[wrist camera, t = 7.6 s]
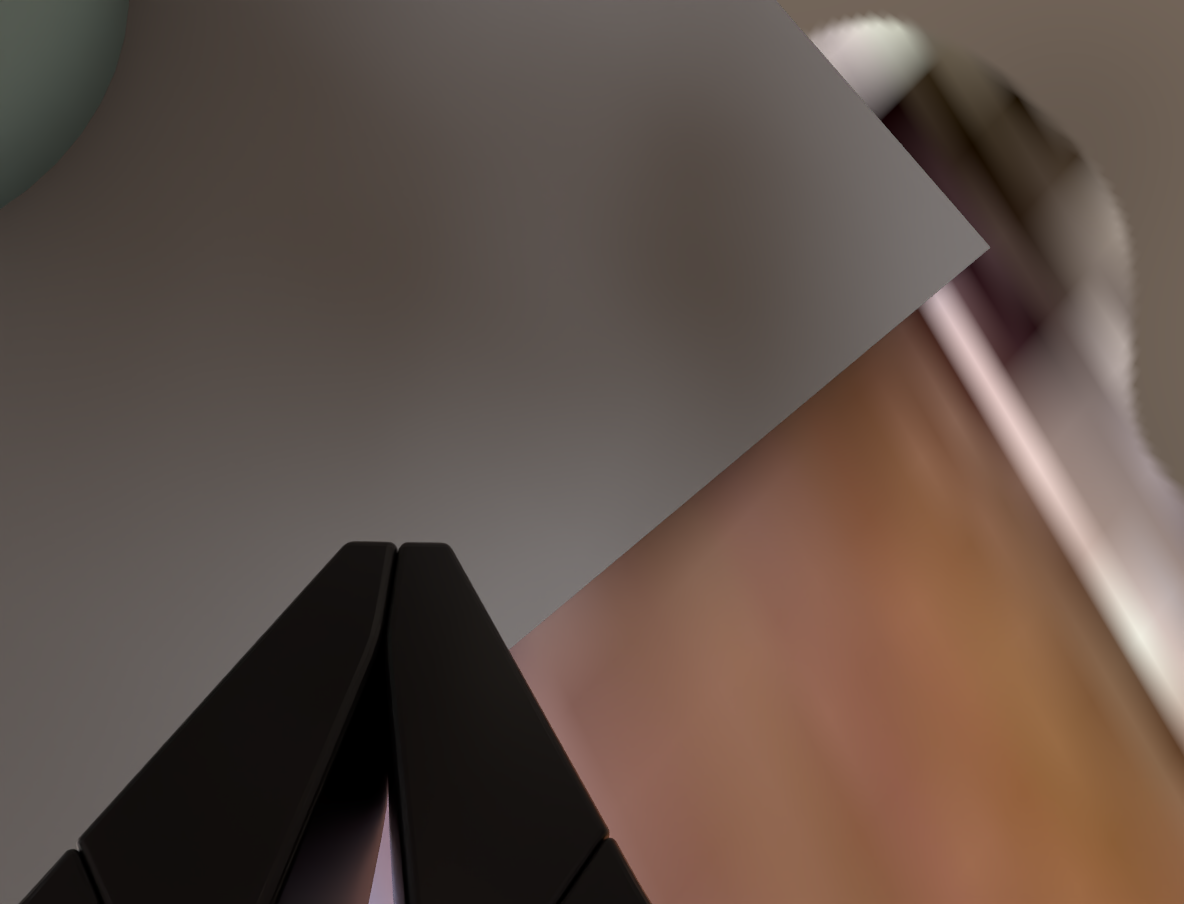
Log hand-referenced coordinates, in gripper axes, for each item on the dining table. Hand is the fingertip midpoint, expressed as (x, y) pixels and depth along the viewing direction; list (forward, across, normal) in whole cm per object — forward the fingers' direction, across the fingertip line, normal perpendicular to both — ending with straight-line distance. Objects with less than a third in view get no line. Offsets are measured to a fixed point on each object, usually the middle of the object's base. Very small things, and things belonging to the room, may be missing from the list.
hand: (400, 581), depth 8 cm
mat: (+10, +4, 0) cm, 11 cm away
